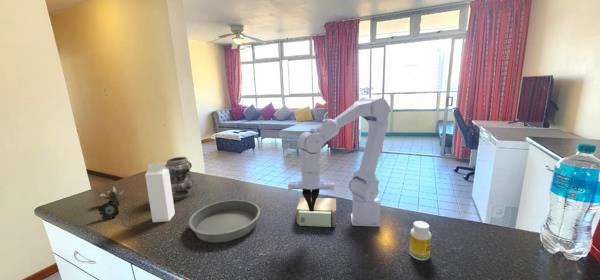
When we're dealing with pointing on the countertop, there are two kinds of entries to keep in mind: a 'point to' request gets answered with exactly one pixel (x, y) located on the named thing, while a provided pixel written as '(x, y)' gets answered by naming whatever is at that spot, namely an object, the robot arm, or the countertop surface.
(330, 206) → the cabinet
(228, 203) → the cake pan
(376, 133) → the robot arm
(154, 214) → the milk
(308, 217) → the door
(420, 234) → the supplement bottle
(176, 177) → the carved stone vase
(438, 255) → the countertop surface
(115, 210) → the artificial flower
